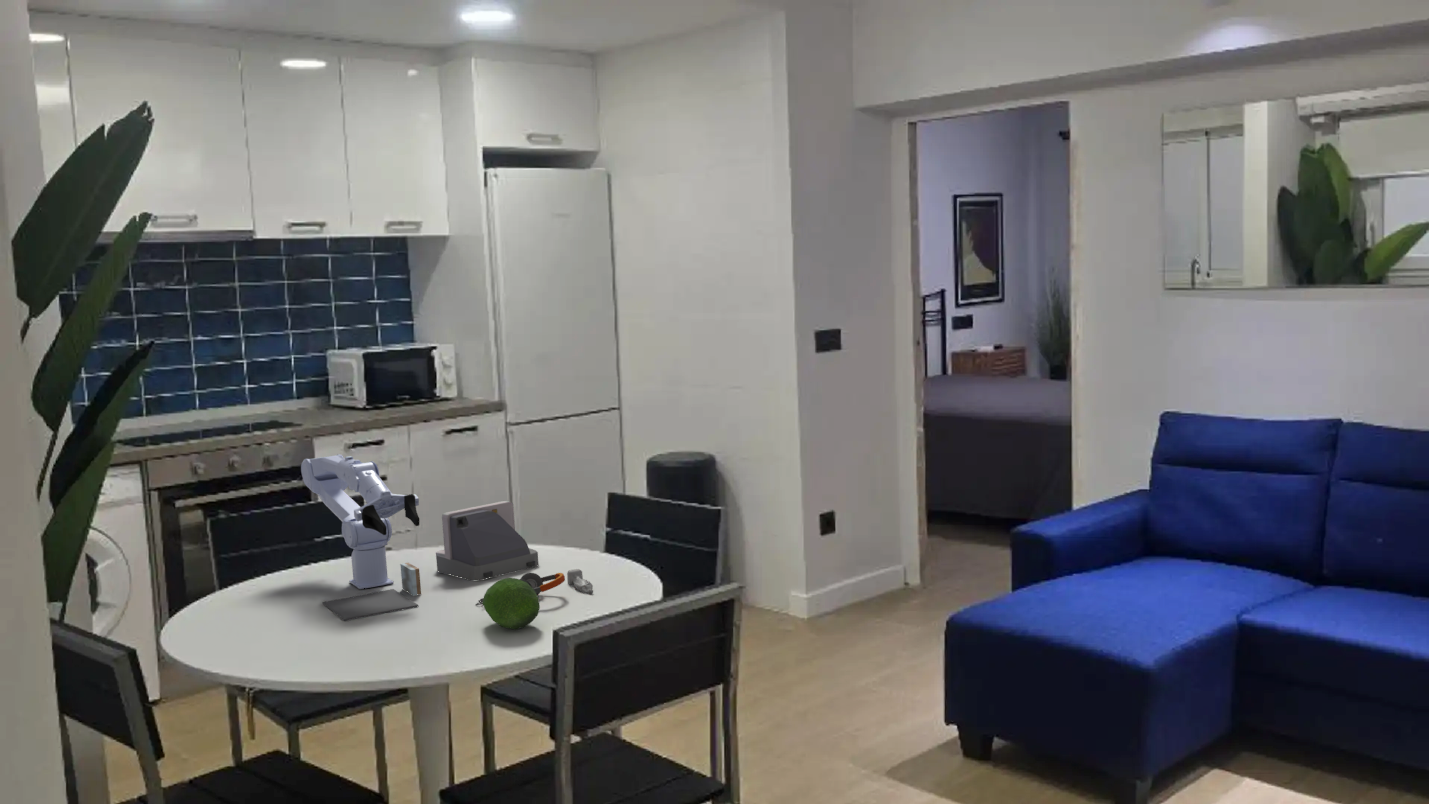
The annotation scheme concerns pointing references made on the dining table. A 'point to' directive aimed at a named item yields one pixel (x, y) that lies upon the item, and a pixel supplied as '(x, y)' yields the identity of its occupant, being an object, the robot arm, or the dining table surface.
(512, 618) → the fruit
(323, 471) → the robot arm
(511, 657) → the dining table surface
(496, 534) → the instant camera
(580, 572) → the figurine
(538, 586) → the headphones
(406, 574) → the tile
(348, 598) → the mat
